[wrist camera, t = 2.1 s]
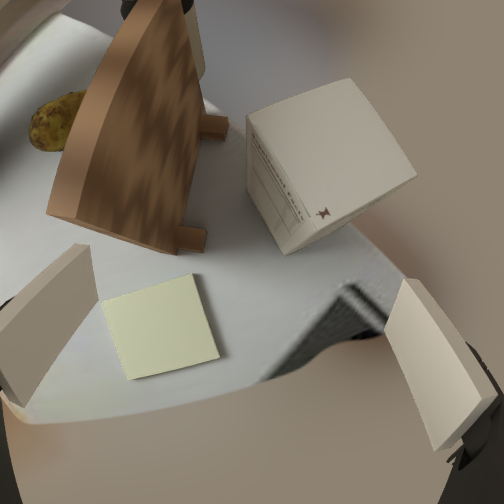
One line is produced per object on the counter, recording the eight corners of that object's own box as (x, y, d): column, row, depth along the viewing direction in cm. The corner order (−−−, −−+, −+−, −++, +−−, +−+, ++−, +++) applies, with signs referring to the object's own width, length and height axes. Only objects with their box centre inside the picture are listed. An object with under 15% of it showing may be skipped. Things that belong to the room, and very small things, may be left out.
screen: (170, 114, 36) (116, -13, 14) (229, 119, 36) (217, -21, 14) (137, 248, 34) (10, 208, 12) (202, 259, 34) (130, 226, 12)
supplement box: (349, 222, 35) (424, 179, 18) (283, 258, 34) (318, 239, 18) (310, 154, 36) (351, 72, 19) (243, 186, 35) (242, 111, 18)
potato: (125, 143, 35) (101, 115, 27) (49, 167, 35) (17, 148, 27) (126, 95, 36) (107, 63, 28) (54, 120, 36) (27, 96, 28)
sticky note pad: (103, 301, 33) (101, 302, 33) (192, 273, 34) (191, 273, 33) (129, 378, 33) (127, 380, 32) (220, 356, 33) (219, 357, 32)
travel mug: (213, 79, 36) (198, -21, 18) (159, 101, 36) (117, 8, 18) (195, 47, 37) (176, -45, 19) (145, 66, 36) (108, -20, 19)
